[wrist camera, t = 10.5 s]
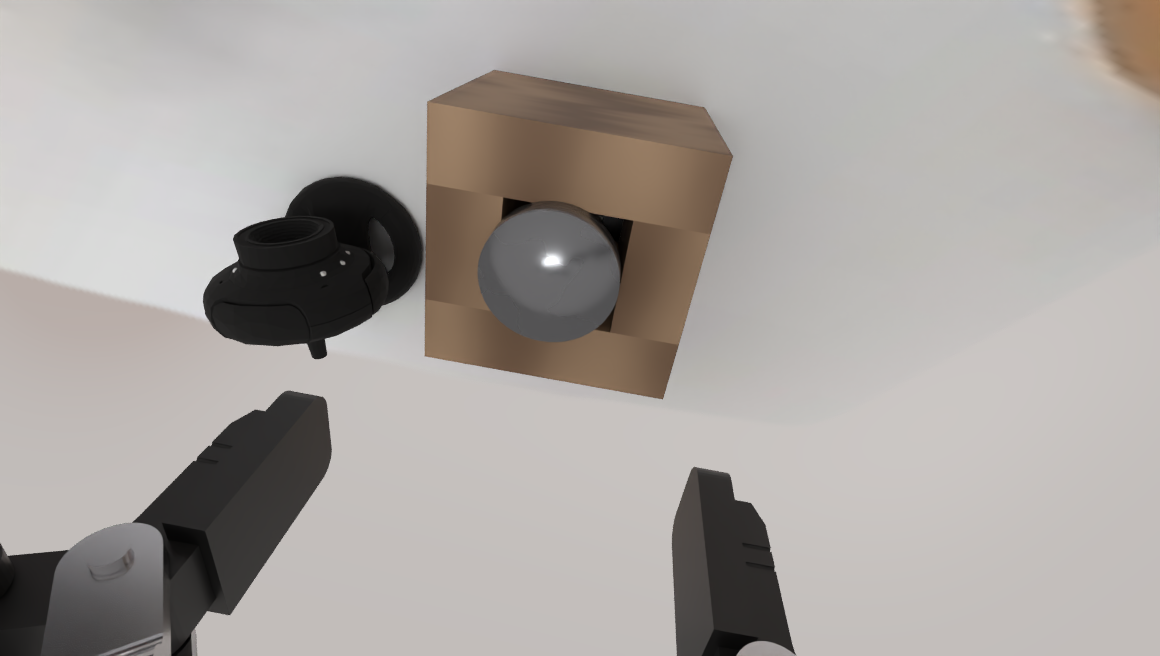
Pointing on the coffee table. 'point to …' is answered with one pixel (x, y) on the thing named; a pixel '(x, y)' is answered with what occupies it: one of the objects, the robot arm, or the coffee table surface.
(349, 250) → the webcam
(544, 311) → the pin
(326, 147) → the coffee table surface
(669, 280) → the block
